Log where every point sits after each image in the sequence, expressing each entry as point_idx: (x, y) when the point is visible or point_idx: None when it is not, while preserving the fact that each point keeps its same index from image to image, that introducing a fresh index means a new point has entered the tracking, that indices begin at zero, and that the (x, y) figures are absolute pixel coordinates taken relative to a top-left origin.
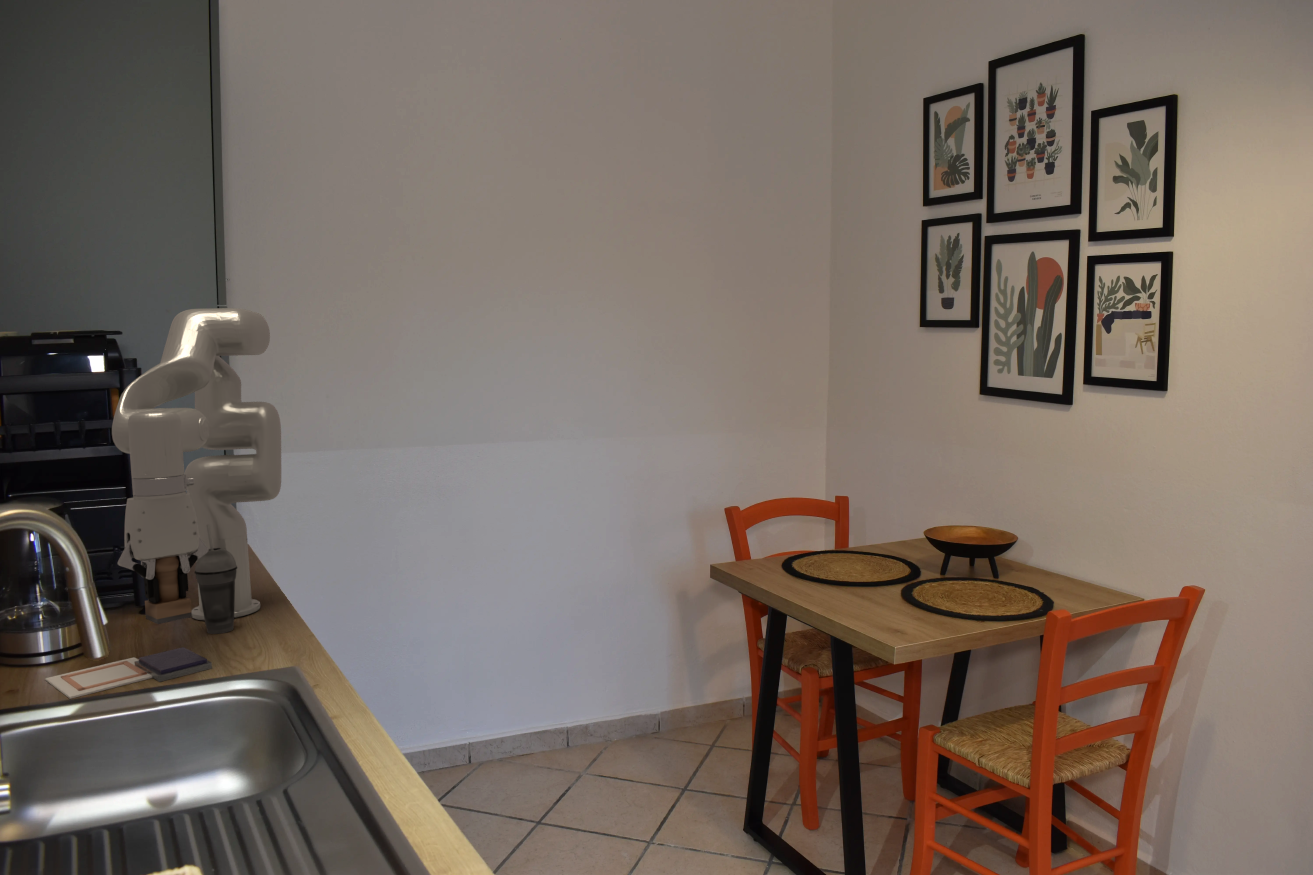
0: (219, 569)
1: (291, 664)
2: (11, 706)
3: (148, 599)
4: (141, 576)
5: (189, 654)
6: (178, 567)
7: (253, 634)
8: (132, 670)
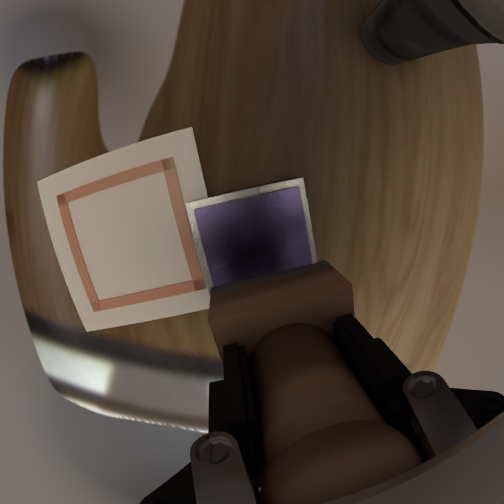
0: (497, 32)
1: (409, 359)
2: (22, 304)
3: (223, 347)
4: (196, 443)
5: (299, 264)
6: (404, 425)
7: (430, 127)
8: (179, 239)
